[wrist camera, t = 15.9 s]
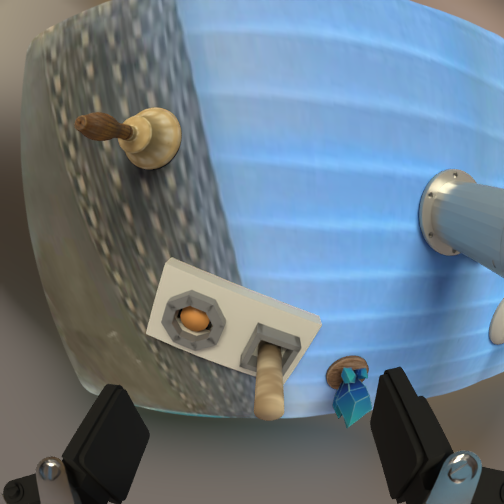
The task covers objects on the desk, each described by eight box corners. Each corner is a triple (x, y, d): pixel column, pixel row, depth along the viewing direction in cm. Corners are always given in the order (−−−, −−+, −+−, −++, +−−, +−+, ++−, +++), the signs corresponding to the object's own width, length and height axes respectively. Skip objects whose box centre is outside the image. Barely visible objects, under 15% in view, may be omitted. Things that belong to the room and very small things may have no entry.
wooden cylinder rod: (285, 342, 38) (289, 406, 26) (275, 358, 39) (276, 423, 27) (263, 335, 37) (260, 399, 26) (254, 352, 38) (249, 416, 27)
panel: (319, 315, 39) (325, 335, 34) (282, 374, 42) (283, 396, 38) (171, 257, 38) (158, 270, 33) (151, 325, 41) (139, 343, 36)
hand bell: (124, 113, 32) (47, 93, 17) (181, 103, 32) (123, 67, 16) (125, 172, 34) (46, 182, 19) (182, 166, 34) (122, 170, 19)
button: (215, 305, 39) (213, 312, 37) (206, 327, 40) (203, 335, 38) (188, 294, 38) (184, 301, 37) (181, 317, 40) (177, 324, 38)
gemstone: (321, 391, 43) (331, 445, 32) (331, 352, 41) (347, 407, 29) (360, 389, 43) (377, 440, 32) (374, 351, 41) (399, 403, 29)
